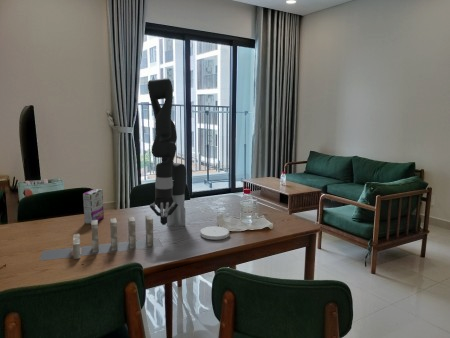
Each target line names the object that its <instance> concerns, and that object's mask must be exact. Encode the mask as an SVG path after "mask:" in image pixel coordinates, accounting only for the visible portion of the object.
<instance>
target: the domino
mask: <svg viewBox="0 0 450 338" xmlns="http://www.w3.org/2000/svg"><path fill="white" fill-rule="evenodd" d="M72 237H73V239H72V248H73V254H74V257H73V260H78V259H81V256H80V247H81V236H80V233H75V234H73V236H72Z"/></svg>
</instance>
